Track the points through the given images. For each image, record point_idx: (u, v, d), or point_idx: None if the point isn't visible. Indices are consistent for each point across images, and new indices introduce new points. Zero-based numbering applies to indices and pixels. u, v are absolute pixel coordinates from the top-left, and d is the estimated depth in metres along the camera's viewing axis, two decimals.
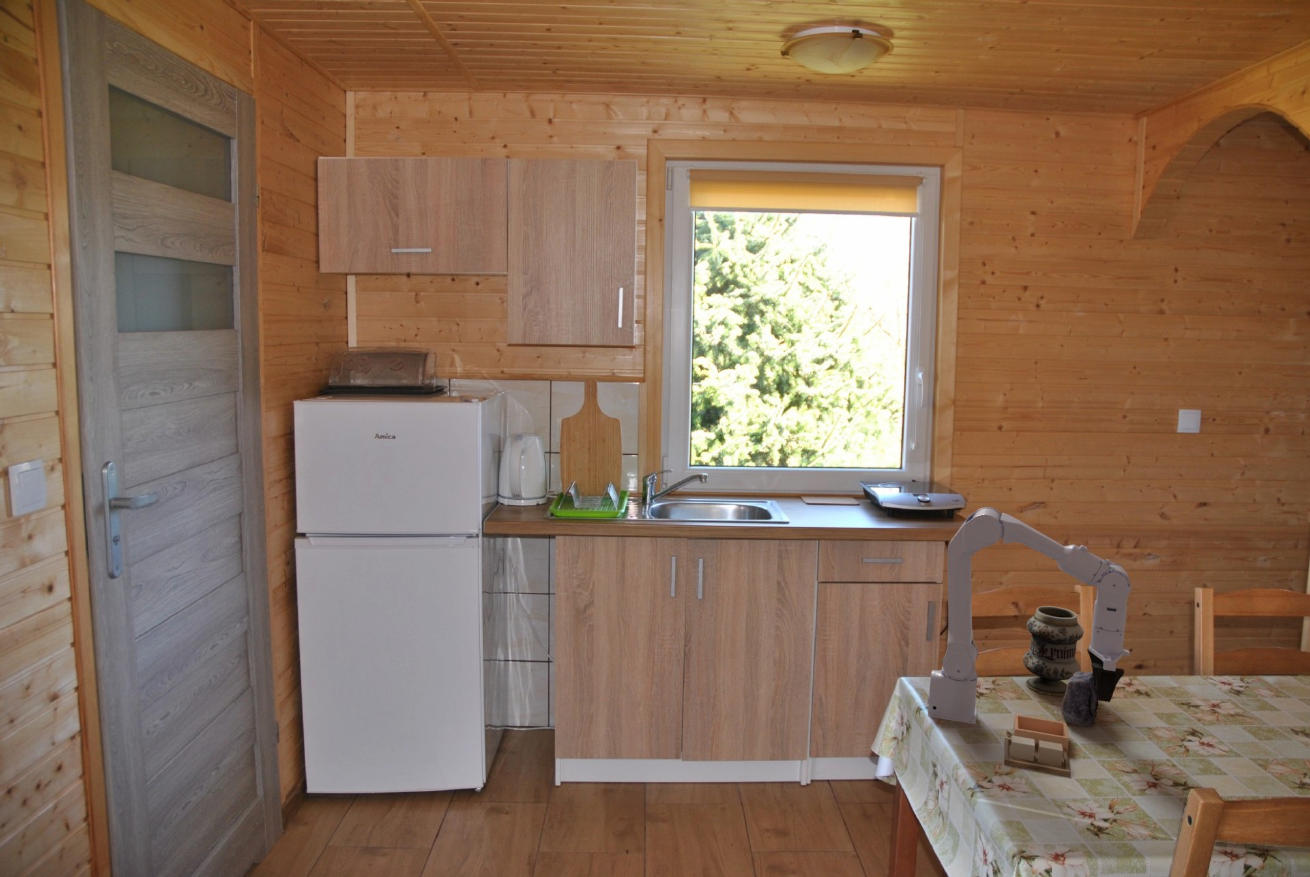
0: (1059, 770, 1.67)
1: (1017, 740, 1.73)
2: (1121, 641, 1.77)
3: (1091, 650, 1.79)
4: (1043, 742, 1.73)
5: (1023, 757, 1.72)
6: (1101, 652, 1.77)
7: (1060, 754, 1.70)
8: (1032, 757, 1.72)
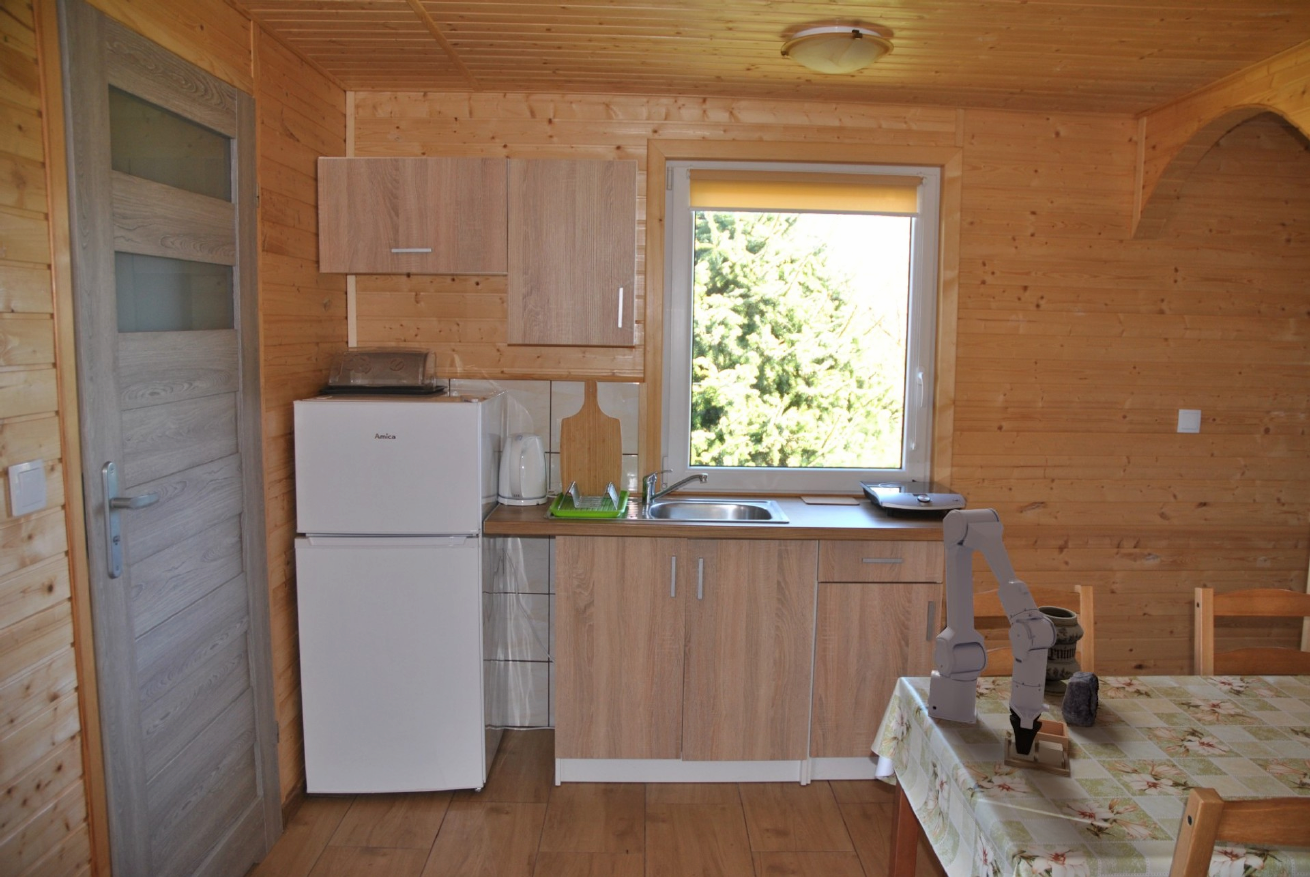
0: (1059, 770, 1.67)
1: None
2: (1040, 696, 1.70)
3: (1010, 705, 1.72)
4: (1043, 742, 1.73)
5: (1023, 757, 1.72)
6: (1020, 707, 1.70)
7: (1060, 754, 1.70)
8: (1032, 757, 1.72)
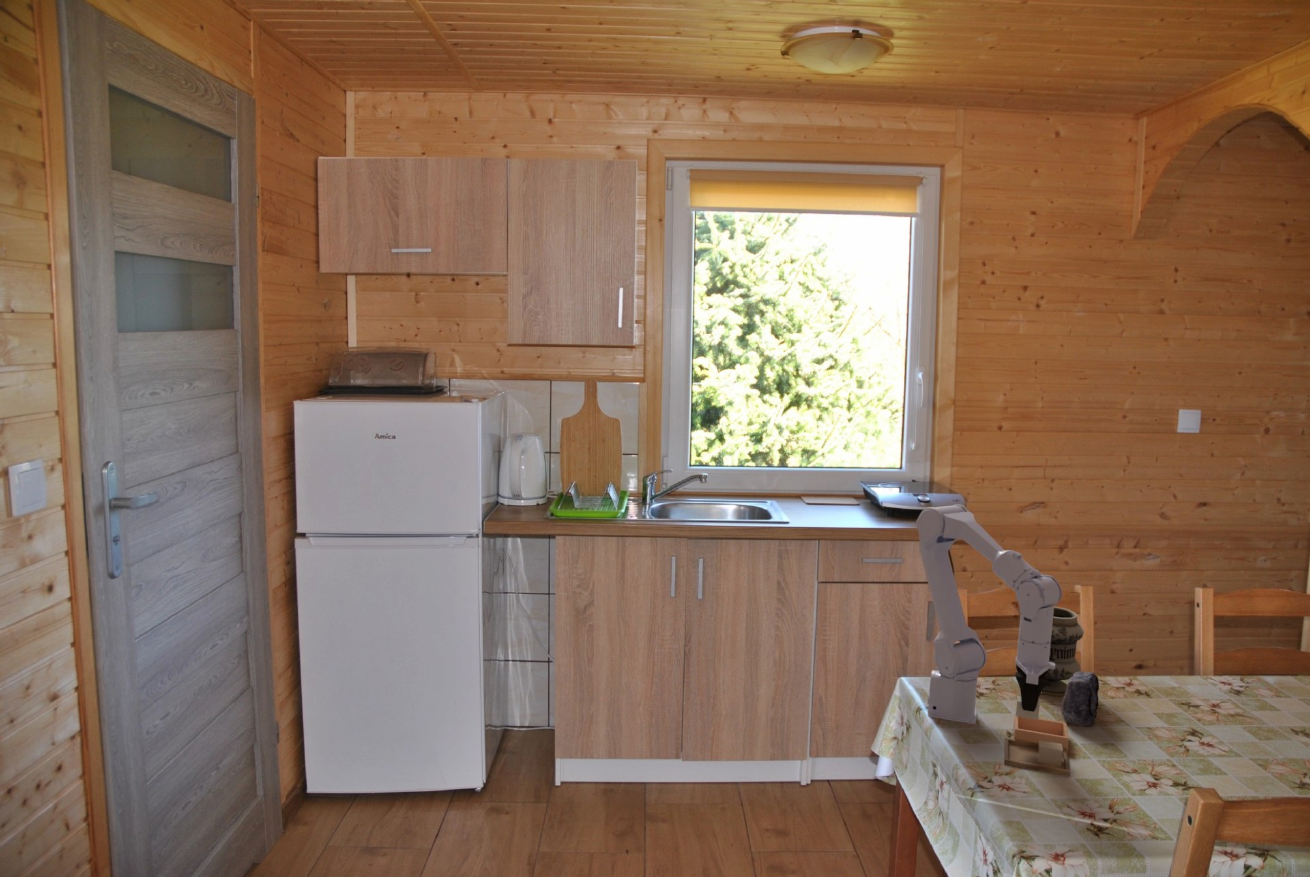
0: (1059, 770, 1.67)
1: None
2: (1046, 654, 1.73)
3: (1017, 662, 1.76)
4: (1043, 742, 1.73)
5: (1028, 716, 1.76)
6: (1026, 664, 1.74)
7: (1060, 754, 1.70)
8: (1037, 716, 1.75)
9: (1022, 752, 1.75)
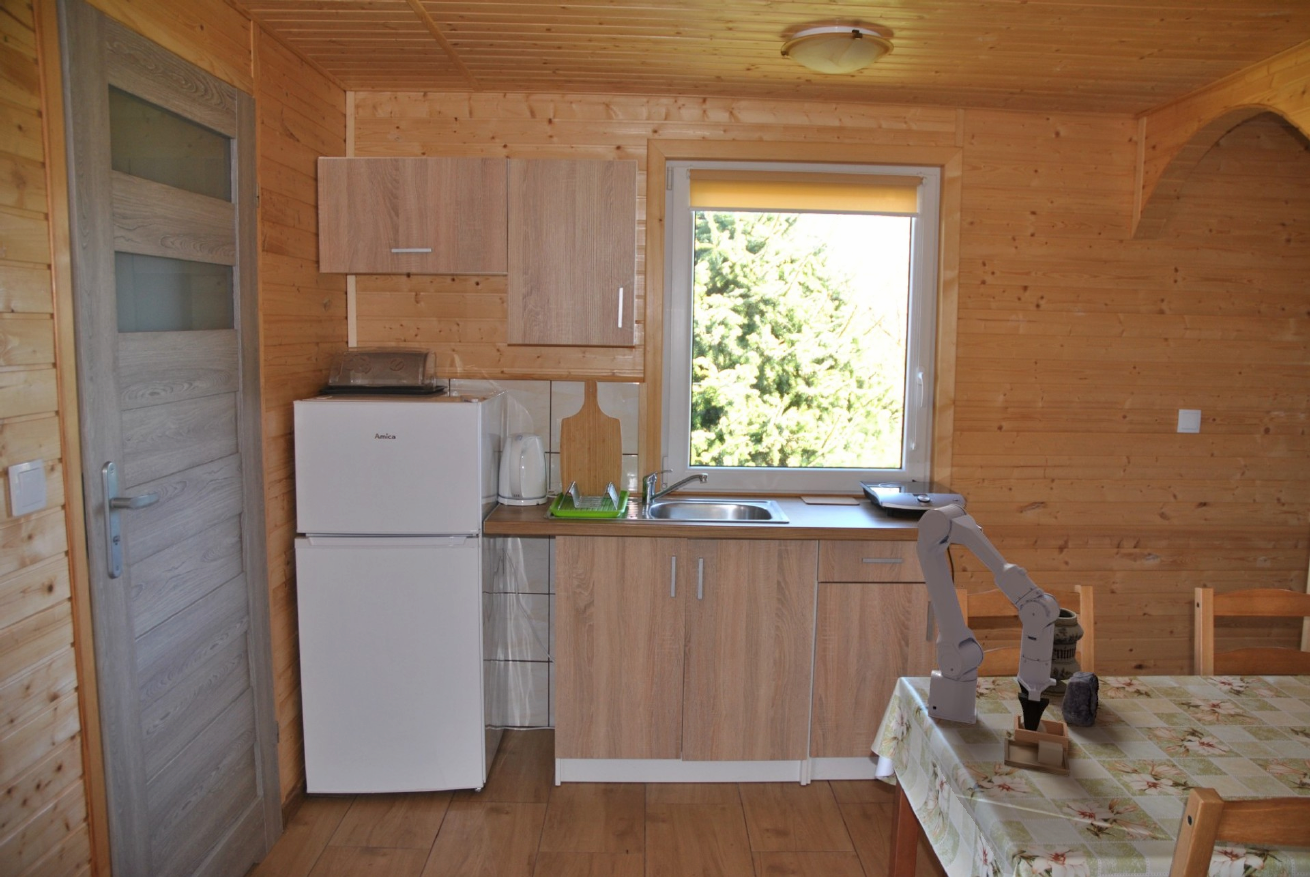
0: (1059, 770, 1.67)
1: None
2: (1047, 670, 1.77)
3: (1019, 679, 1.80)
4: (1043, 742, 1.73)
5: None
6: (1027, 681, 1.78)
7: (1060, 754, 1.70)
8: None
9: (1022, 752, 1.75)
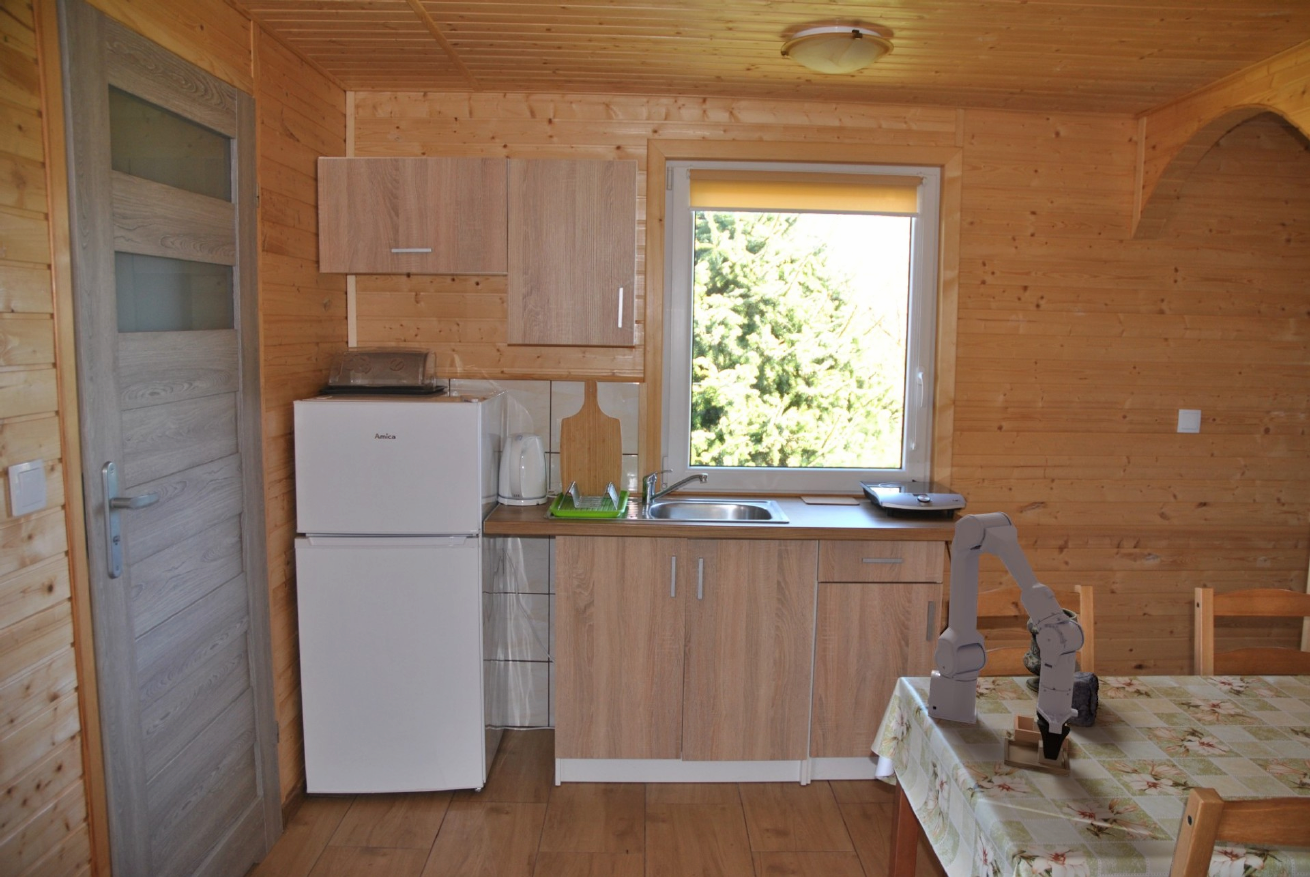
0: (1059, 770, 1.67)
1: None
2: (1069, 701, 1.68)
3: (1038, 709, 1.70)
4: None
5: None
6: (1048, 712, 1.69)
7: (1060, 754, 1.70)
8: None
9: (1022, 752, 1.75)
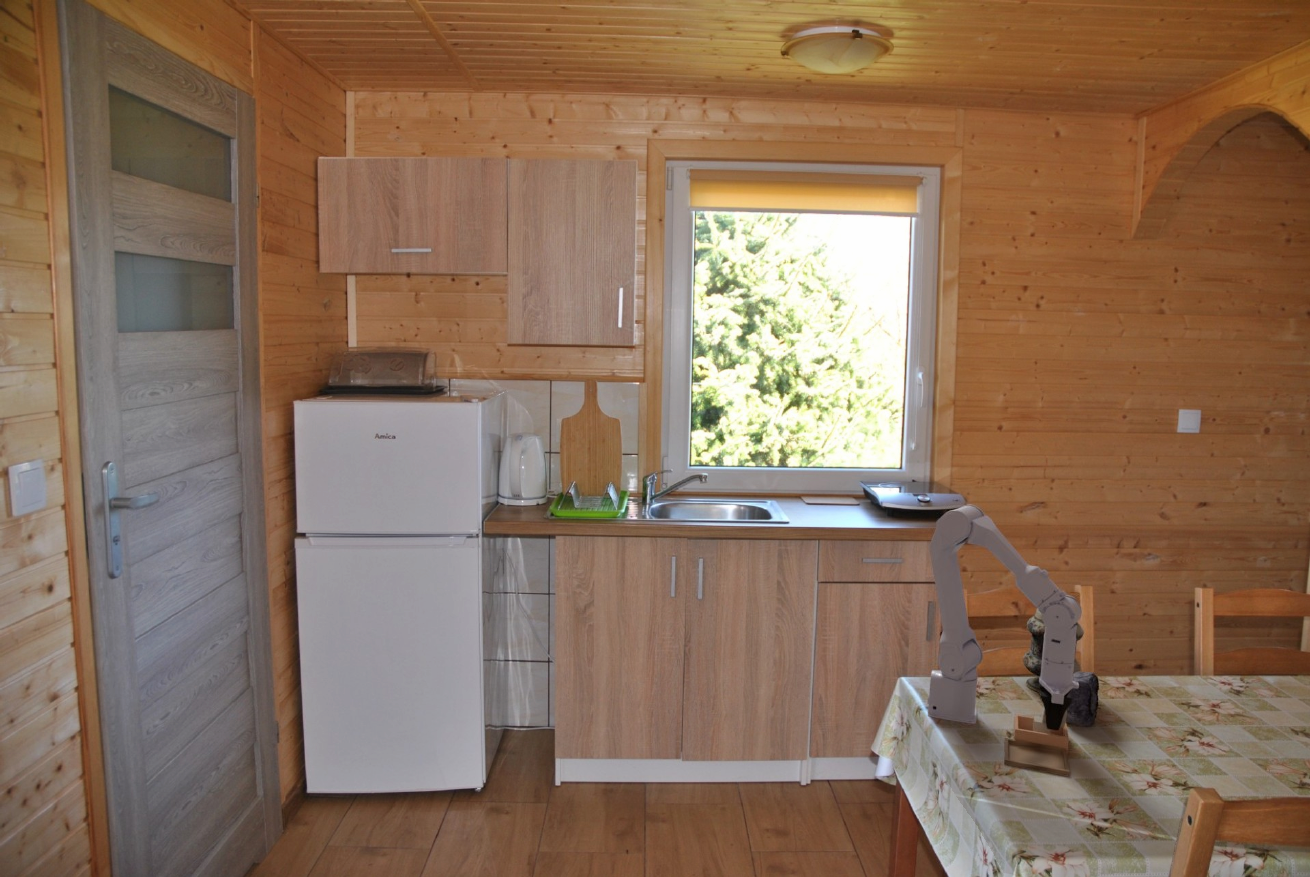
0: (1059, 770, 1.67)
1: None
2: (1070, 673, 1.76)
3: (1041, 682, 1.78)
4: None
5: None
6: (1050, 684, 1.76)
7: (1064, 716, 1.77)
8: None
9: (1022, 752, 1.75)
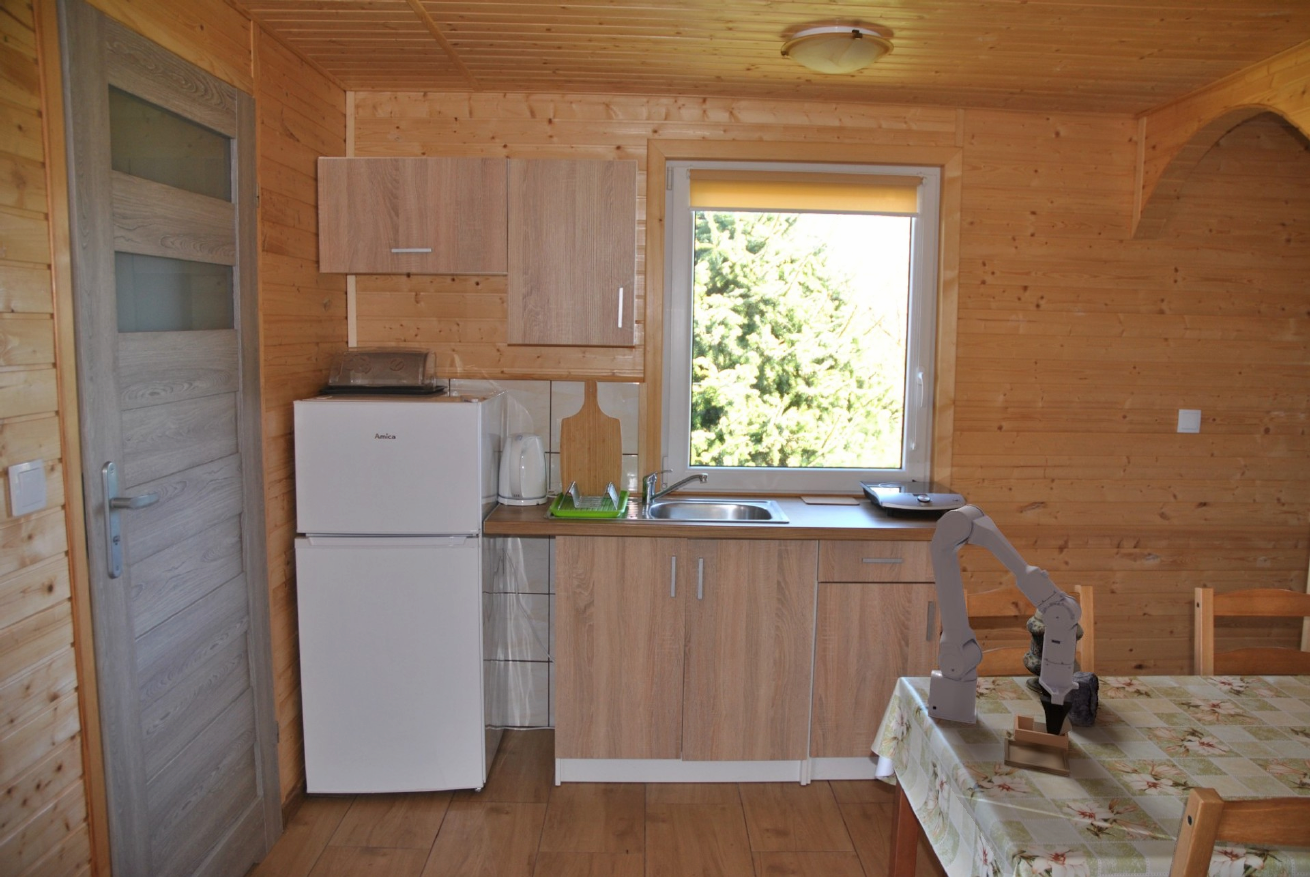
0: (1059, 770, 1.67)
1: None
2: (1070, 674, 1.76)
3: (1041, 682, 1.78)
4: None
5: None
6: (1050, 685, 1.76)
7: (1067, 730, 1.77)
8: None
9: (1022, 752, 1.75)
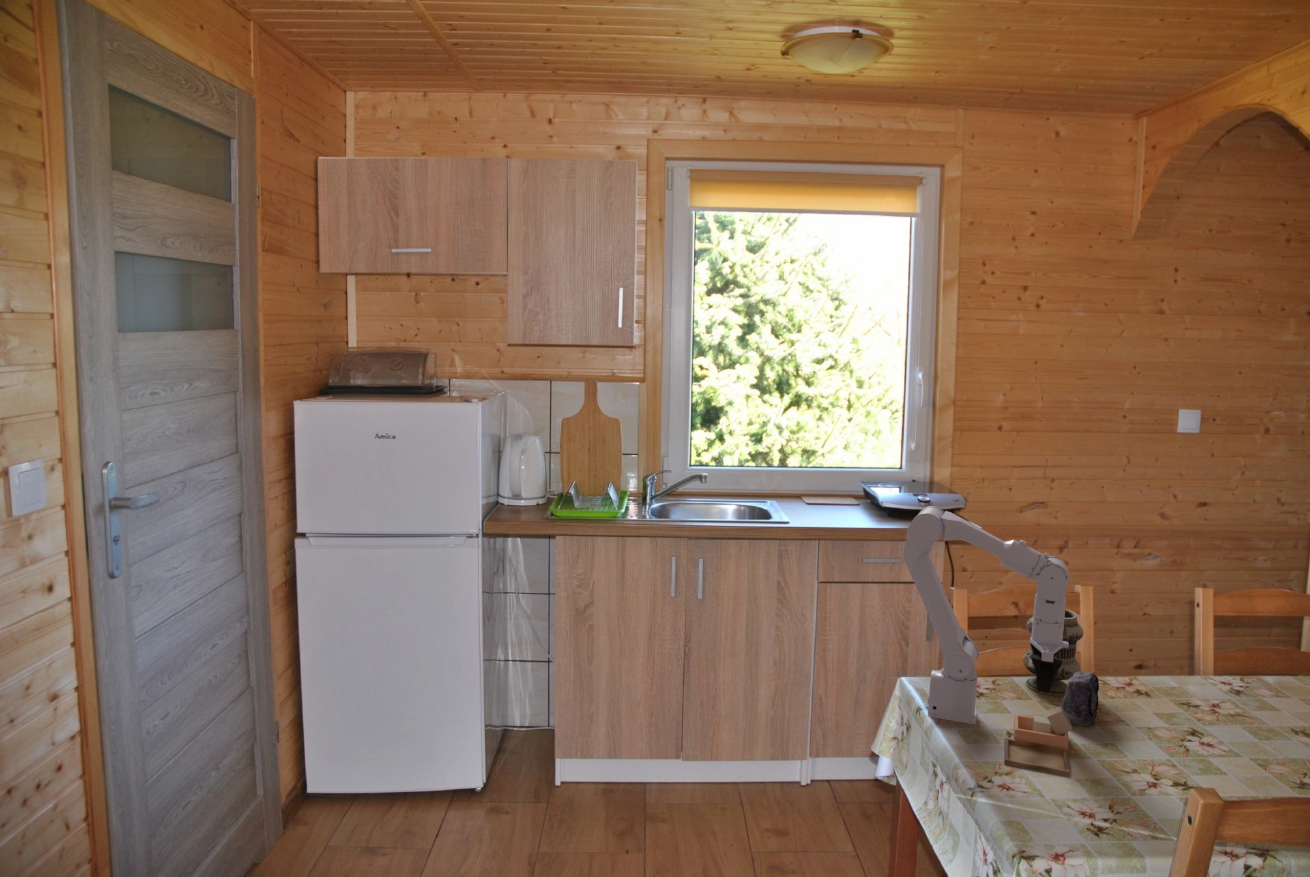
0: (1059, 770, 1.67)
1: None
2: (1060, 633, 1.80)
3: (1031, 642, 1.83)
4: (1063, 710, 1.79)
5: None
6: (1040, 643, 1.81)
7: (1067, 730, 1.77)
8: None
9: (1022, 752, 1.75)
